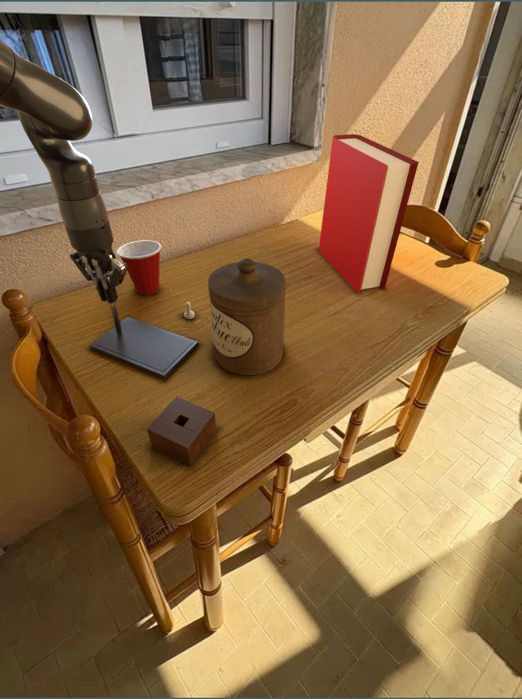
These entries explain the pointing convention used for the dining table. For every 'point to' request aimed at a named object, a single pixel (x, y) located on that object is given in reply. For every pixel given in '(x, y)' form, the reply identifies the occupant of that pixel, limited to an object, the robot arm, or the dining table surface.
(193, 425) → the stylus stand
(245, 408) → the dining table surface
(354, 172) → the book
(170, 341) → the plate
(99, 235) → the robot arm
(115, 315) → the stylus
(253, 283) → the wooden container
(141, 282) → the plastic cup
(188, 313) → the pawn
